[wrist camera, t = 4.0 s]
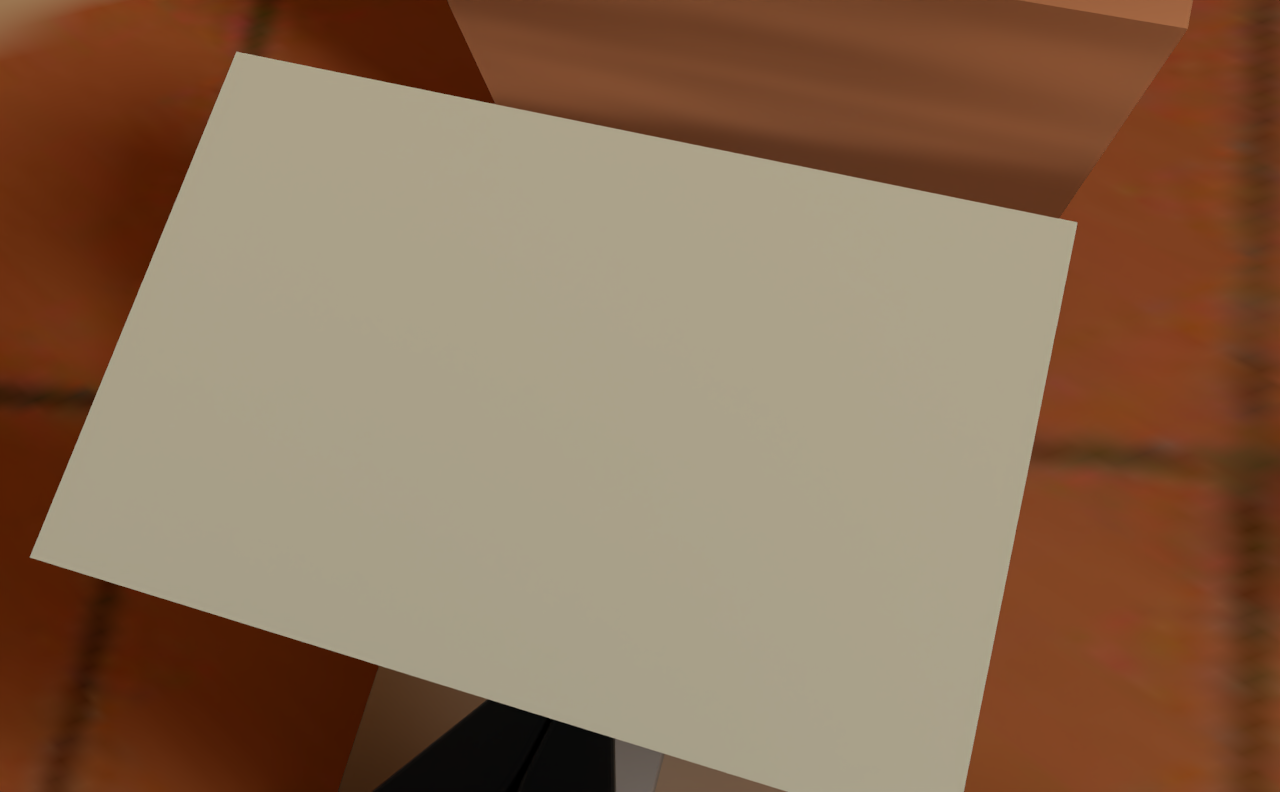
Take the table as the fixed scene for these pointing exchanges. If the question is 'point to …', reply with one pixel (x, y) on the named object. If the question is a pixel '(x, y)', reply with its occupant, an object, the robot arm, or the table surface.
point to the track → (806, 154)
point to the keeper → (581, 424)
